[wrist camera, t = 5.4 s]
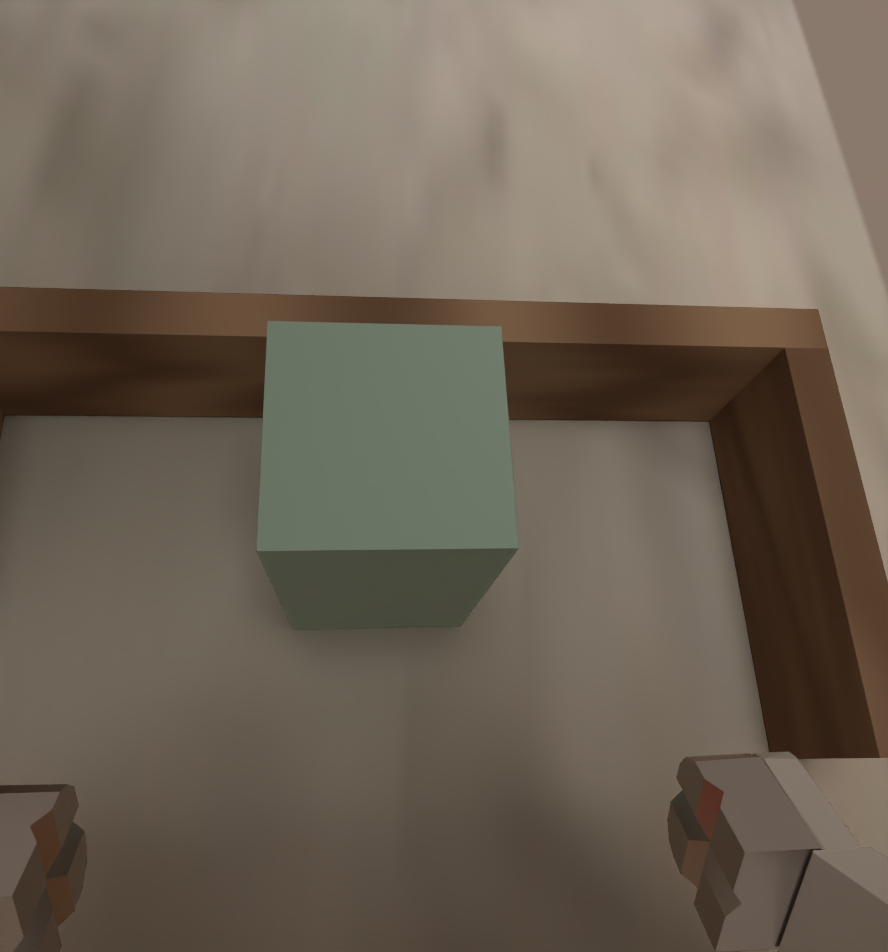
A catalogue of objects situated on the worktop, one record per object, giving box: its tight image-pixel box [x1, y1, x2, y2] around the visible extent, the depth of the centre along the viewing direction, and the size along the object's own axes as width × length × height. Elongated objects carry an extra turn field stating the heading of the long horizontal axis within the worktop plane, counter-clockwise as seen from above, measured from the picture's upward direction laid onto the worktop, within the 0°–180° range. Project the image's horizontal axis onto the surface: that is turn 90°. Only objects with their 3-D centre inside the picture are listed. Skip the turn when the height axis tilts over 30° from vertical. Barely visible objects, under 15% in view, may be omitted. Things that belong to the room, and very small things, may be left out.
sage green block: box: [256, 321, 519, 630], centre depth 17 cm, size 4×4×8 cm
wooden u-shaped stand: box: [0, 287, 888, 759], centre depth 19 cm, size 23×11×4 cm, turn 92°
